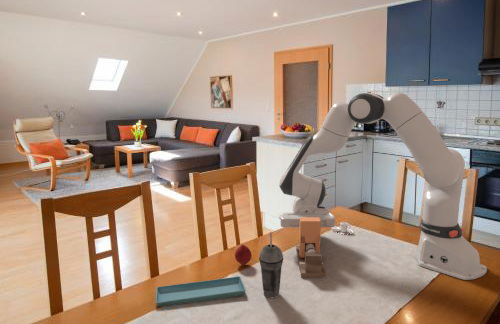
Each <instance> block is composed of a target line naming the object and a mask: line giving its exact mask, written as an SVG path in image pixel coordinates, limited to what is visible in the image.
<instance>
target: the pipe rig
mask: <svg viewBox="0 0 500 324" xmlns="http://www.w3.org/2000/svg"><path fill="white" fill-rule="evenodd" d="M295 250H296V256H297V262H299V263H298V267H299V274H300V273H301V274H300V278H304V277H326V278H327V272H326V268H325V266H324V263H323V260H322V258H323V257H322V256H323V255H322V252H321V251H320V252H316V251H315V248H314V243H305V257H300V254H299V245H295Z"/></svg>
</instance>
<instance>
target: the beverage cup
mask: <svg viewBox="0 0 500 324" xmlns="http://www.w3.org/2000/svg"><path fill="white" fill-rule="evenodd" d="M258 260H259V264H260V265H259V266H260V271H261V282H262V290H263V296H264V297H266V296H267V297H266V298H268V297H275V298H277V297H278V296H279V295H280V289H281V288H280V286H281V276H282V266H283V262H284V255H283V252H282V249H281V248H280V247H279V246H278V245H277V244H276V245H275V244H273V235H272V232H269V244H267V245H265V246H263V247H262V248H261V250H260V251H259V256H258ZM276 296H277V297H276Z"/></svg>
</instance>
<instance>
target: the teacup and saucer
mask: <svg viewBox="0 0 500 324" xmlns="http://www.w3.org/2000/svg"><path fill="white" fill-rule="evenodd" d="M339 225H340V227H339V226H336V225H335V227H332V228H331V230H332V231H333V232H334V233H335V234H337V235H340V234H339V233H340V231H342V234H343V235H342V236H345V235H344V234H345V233H346V234H347V235H346V236H349V235H348V234H349V233H350V232H349V233H347V232H348V231H349V230H351V231H352V233H350V235H352V234H354V230H352V229H351V225H350V224H349V223H348V222H346V221H340V223H339ZM348 227H349V228H348ZM347 229H348V230H347ZM336 231H337V232H338V233H337V232H336Z"/></svg>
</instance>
